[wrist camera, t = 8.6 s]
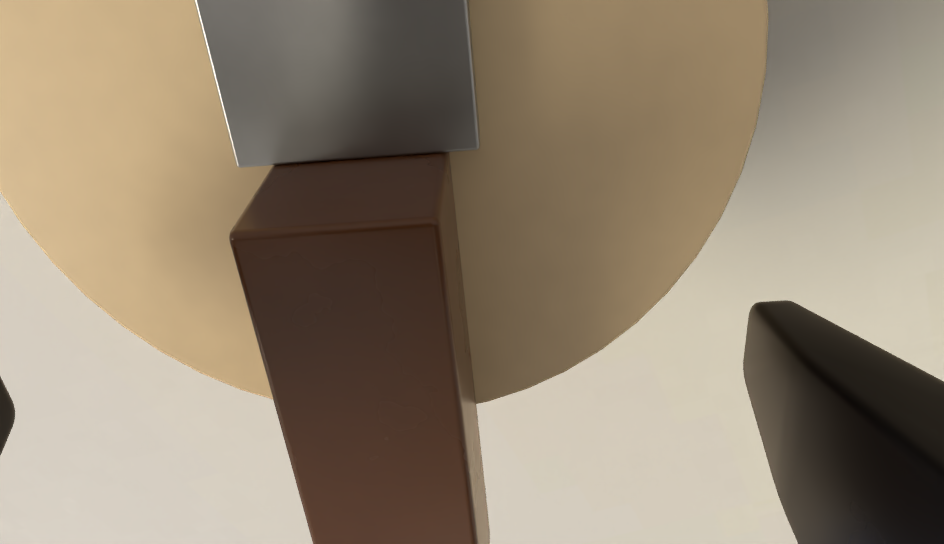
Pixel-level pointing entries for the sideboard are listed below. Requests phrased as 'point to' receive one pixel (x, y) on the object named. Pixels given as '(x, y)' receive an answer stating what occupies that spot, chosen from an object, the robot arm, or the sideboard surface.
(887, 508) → the robot arm
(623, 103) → the cake
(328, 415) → the cake knife
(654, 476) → the sideboard surface
